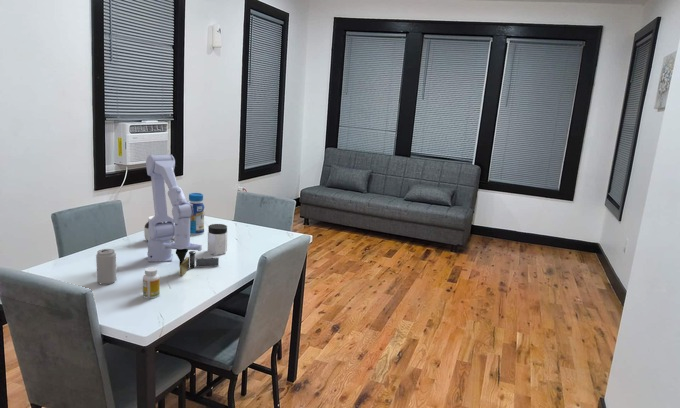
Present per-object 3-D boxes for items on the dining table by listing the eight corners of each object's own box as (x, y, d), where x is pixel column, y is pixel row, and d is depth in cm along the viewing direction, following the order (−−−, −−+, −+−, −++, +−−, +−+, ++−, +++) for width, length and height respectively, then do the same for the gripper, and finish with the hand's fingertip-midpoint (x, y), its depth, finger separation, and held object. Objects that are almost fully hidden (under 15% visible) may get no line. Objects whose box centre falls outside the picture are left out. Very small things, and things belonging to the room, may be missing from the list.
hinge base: (188, 268, 196) (188, 253, 194) (188, 266, 199) (188, 250, 197) (218, 267, 199) (219, 252, 198) (218, 265, 202) (218, 250, 201)
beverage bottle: (186, 230, 246) (187, 192, 242) (204, 230, 249) (204, 192, 244) (187, 235, 238) (187, 195, 234) (204, 235, 241) (205, 196, 237)
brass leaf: (186, 267, 196) (186, 256, 195) (189, 267, 196) (189, 256, 195) (179, 275, 187) (179, 264, 186) (182, 276, 187) (182, 264, 186)
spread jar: (141, 241, 224) (141, 217, 222) (158, 235, 235) (157, 212, 232) (163, 246, 221) (163, 221, 218) (178, 239, 231) (178, 216, 229)
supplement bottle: (161, 292, 172) (161, 267, 170) (156, 299, 167) (156, 272, 164) (146, 291, 172) (146, 266, 169) (140, 298, 166) (140, 271, 164)
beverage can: (111, 277, 182) (110, 247, 179) (119, 282, 178) (118, 251, 175) (94, 281, 177) (92, 250, 174) (102, 286, 173) (101, 255, 170)
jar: (210, 255, 213) (211, 229, 210) (204, 250, 219) (205, 224, 217) (230, 253, 218) (230, 227, 215) (223, 247, 224) (224, 223, 221)
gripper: (160, 235, 184) (160, 269, 187) (198, 237, 185) (198, 271, 188) (166, 230, 191) (166, 263, 194) (203, 232, 192) (202, 265, 195)
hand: (182, 266), depth 191 cm, fingers closed, pressing on brass leaf
